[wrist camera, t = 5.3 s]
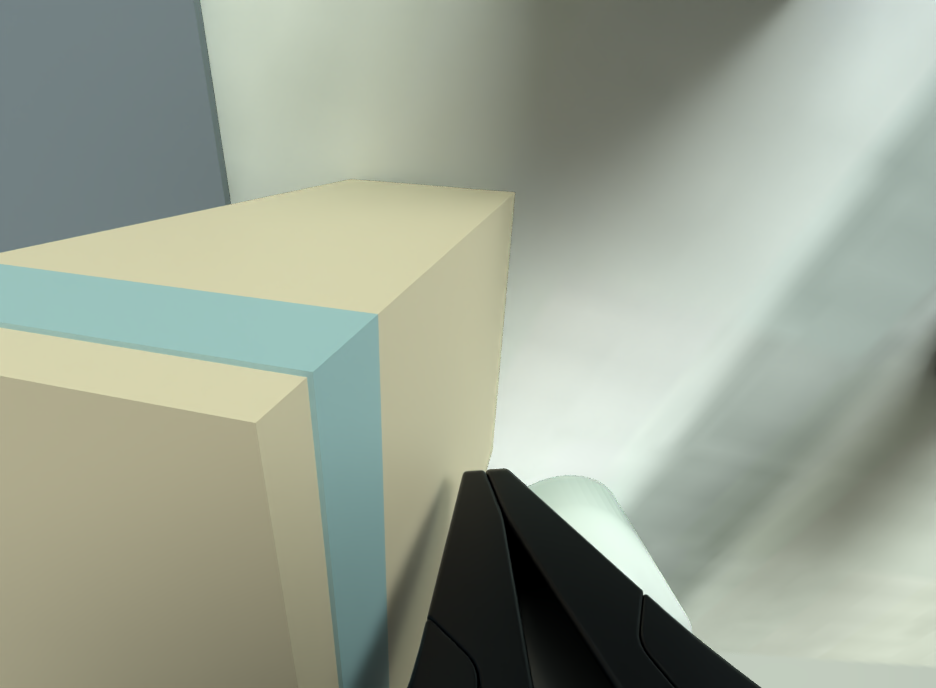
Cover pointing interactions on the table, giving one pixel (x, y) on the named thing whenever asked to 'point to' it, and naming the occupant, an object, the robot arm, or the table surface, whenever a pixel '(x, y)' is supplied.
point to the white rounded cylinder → (608, 533)
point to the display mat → (104, 117)
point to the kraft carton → (244, 436)
